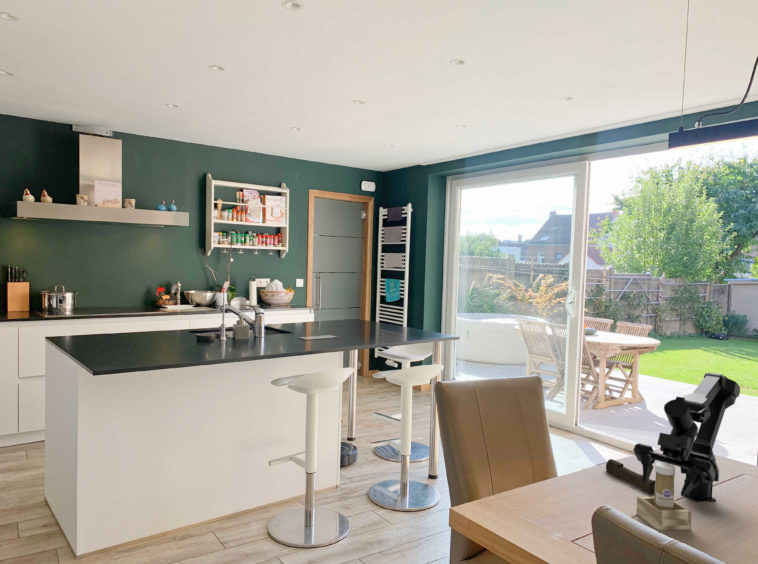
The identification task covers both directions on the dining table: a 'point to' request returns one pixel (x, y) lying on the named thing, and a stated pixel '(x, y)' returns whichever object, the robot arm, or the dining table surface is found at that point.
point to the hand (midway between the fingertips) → (662, 489)
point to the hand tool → (629, 475)
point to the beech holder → (664, 515)
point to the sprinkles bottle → (664, 486)
